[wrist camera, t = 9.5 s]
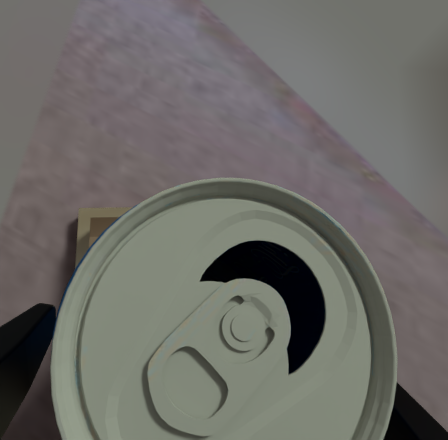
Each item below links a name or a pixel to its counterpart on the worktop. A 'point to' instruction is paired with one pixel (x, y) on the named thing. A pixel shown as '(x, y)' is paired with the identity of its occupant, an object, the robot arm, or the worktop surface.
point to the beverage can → (224, 324)
